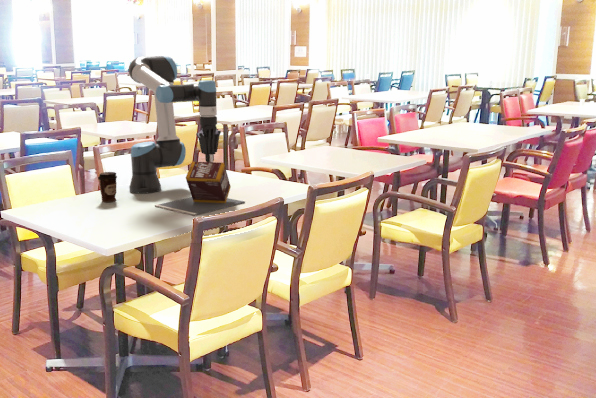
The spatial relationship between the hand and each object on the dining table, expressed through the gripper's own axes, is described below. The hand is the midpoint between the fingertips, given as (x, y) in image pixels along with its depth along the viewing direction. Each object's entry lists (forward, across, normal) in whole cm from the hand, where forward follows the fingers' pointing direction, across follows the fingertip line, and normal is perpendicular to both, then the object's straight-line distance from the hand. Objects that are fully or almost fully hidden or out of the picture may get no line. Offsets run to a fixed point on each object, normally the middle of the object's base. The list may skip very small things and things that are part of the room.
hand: (209, 168), depth 289 cm
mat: (+15, -7, 0) cm, 17 cm away
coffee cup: (+16, -27, +38) cm, 50 cm away
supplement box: (+12, +1, 0) cm, 12 cm away
